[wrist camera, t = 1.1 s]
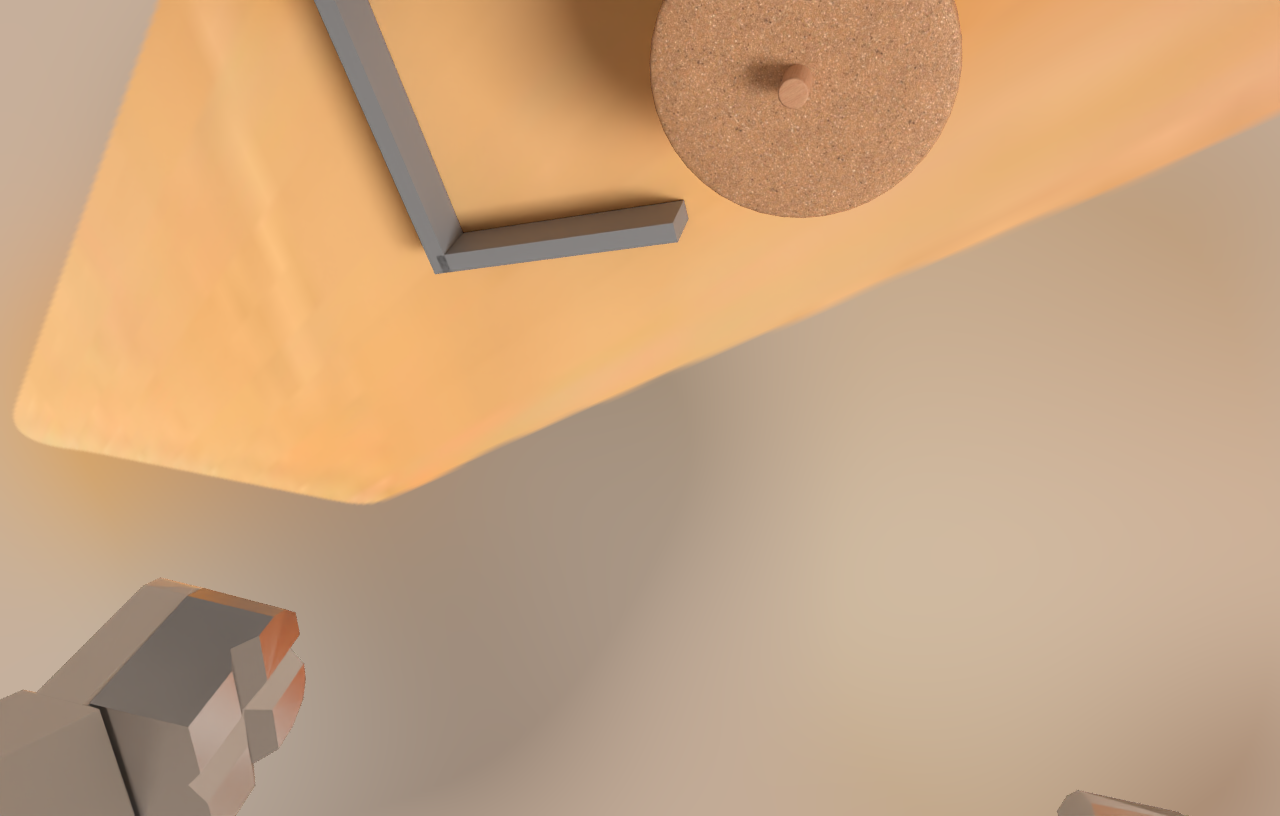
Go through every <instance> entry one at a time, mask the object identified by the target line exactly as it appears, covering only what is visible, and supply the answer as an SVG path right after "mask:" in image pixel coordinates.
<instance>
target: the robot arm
mask: <svg viewBox="0 0 1280 816" xmlns="http://www.w3.org/2000/svg"><path fill="white" fill-rule="evenodd" d="M299 635H300V632H299V627H298V622H297V617H296V613H295V612H292V611H289V610H286V609H282V608H278V607H275V606H271V605H267V604H263V603H259V602H255V601H251V600H248V599H244V598H240V597H236V596H232V595H228V594H224V593H221V592H217V591H213V590H209V589H205V588H201V587H197V586H192V585H188V584H184V583H180V582H176V581H172V580H168V579H164V578H159V579H157V580H155V581H152V582H150V583H148V584H146V585H144V586H143V587H141V588H140V589H139V590H138V591H137V592H136V593H135V594H134V595H133V596H132V597H131V599H129V600H128V601H127V602H126V603H125V604H124V605H123V606H122V608H120V609H119V610H118V611H117V612H116V613H115V614H114V615H113V616H112V617H111V618H110V620H108V621H107V623H105V624H104V625H103V626H102V627H101V628H100V629H99V630H98V631H97V632H96V634H94V635H93V636H92V637H91V638H90V639H89V641H87V642H86V644H85V645H83V646H82V647H81V649H79V650H78V652H77V653H75V655H73V656H72V658H70V659H69V660H68V661H67V662H66V664H64V665H63V666H62V667H61V669H60V670H58V671H57V672H56V673H55V674H54V676H52V677H51V679H49V680H48V681H47V682H46V683H45V684H44V686H42V688H41V689H40V690H38V692H32V691H27V690H21V691H19V692H17V693H14V694H12V695H10V696H7V697H5V698H3V699H1V700H0V816H236V814H237V813H238V811H239V810H240V808H241V807H242V805H243V804H244V802H245V800H246V799H247V798H248V796H249V794H250V793H251V791H252V790H253V788H254V786H255V776H254V765H253V764H254V763H255V762H257V761H259V760H260V759H262V758H264V757H266V756H268V755H269V754H271V753H273V752H274V751H276V750H278V749H279V748H280V746H281V745H282V743H283V741H284V740H285V738H286V737H287V735H288V733H289V732H290V730H291V728H292V727H293V725H294V722H295V719H296V717H297V714H298V712H299V709H300V706H301V704H302V701H303V696H304V689H305V680H306V677H305V668H304V663H303V662H302V660H301V659H300V658H299V657H298V656H297V655H296V653H295V652H294V651H293V650H292V649H291V646H292V645H293V644H294V642H295V641H296V639H297V638H298V636H299ZM1057 813H1058V816H1189V815H1182V814H1181V813H1179V812H1176V811H1172V810H1167V809H1163V808H1158V807H1153V806H1149V805H1144V804H1140V803H1135V802H1130V801H1126V800H1121V799H1116V798H1112V797H1107V796H1102V795H1098V794H1093V793H1089V792H1084V791H1079V790H1077V791H1075V792H1073V793H1071V794H1069V795H1067V796H1066V798H1065V799H1064V801H1063V802H1062V804H1061V806H1060V807H1059V809H1058V810H1057Z"/></svg>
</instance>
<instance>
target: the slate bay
mask: <svg viewBox="0 0 1280 816" xmlns="http://www.w3.org/2000/svg"><path fill="white" fill-rule="evenodd" d="M314 2H315V4H316V6H317V8H318V11H319V13H320V15H321V17H322V20H323V22H324V24H325V26H326V29H327V31H328V33H329V35H330V38H331V40H332V42H333V45H334V47H335V49H336V51H337V54H338V56H339V58H340V60H341V63H342V65H343V67H344V69H345V72H346V74H347V76H348V78H349V81H350V83H351V85H352V87H353V90H354V92H355V94H356V96H357V99H358V101H359V103H360V106H361V108H362V110H363V112H364V115H365V117H366V119H367V121H368V124H369V126H370V128H371V130H372V133H373V135H374V137H375V139H376V142H377V144H378V146H379V148H380V151H381V153H382V155H383V157H384V160H385V162H386V164H387V167H388V169H389V171H390V173H391V176H392V178H393V180H394V182H395V185H396V187H397V189H398V191H399V194H400V196H401V198H402V200H403V203H404V205H405V207H406V209H407V212H408V214H409V216H410V218H411V221H412V223H413V225H414V227H415V230H416V232H417V234H418V237H419V239H420V241H421V243H422V246H423V248H424V250H425V252H426V255H427V257H428V259H429V261H430V264H431V266H432V268H433V270H434V273H435V274H439V273H447V272H454V271H462V270H470V269H477V268H485V267H492V266H500V265H507V264H515V263H523V262H530V261H538V260H545V259H553V258H561V257H568V256H576V255H583V254H591V253H599V252H606V251H614V250H621V249H629V248H637V247H644V246H652V245H659V244H667V243H675V242H678V241H679V238H680V236H681V234H682V232H683V230H684V227H685V225H686V223H687V221H688V215H687V211H686V207H685V203H684V200H681V201H674V202H667V203H661V204H654V205H647V206H640V207H634V208H627V209H620V210H614V211H607V212H600V213H594V214H587V215H580V216H573V217H567V218H560V219H553V220H547V221H540V222H533V223H526V224H520V225H513V226H506V227H500V228H493V229H486V230H479V231H473V232H466V233H463V231H462V229H461V226H460V224H459V221H458V219H457V216H456V214H455V212H454V209H453V207H452V204H451V202H450V199H449V197H448V195H447V192H446V190H445V187H444V185H443V182H442V180H441V177H440V175H439V173H438V170H437V168H436V165H435V163H434V160H433V158H432V155H431V153H430V151H429V148H428V146H427V143H426V141H425V138H424V136H423V133H422V131H421V129H420V126H419V124H418V121H417V119H416V116H415V114H414V112H413V109H412V107H411V104H410V102H409V99H408V97H407V94H406V92H405V90H404V87H403V85H402V82H401V80H400V77H399V75H398V72H397V70H396V68H395V65H394V63H393V60H392V58H391V55H390V53H389V51H388V48H387V46H386V43H385V41H384V38H383V36H382V33H381V31H380V29H379V26H378V24H377V21H376V19H375V16H374V14H373V11H372V9H371V7H370V4H369V2H368V0H314Z"/></svg>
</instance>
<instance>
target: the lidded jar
mask: <svg viewBox="0 0 1280 816" xmlns="http://www.w3.org/2000/svg"><path fill="white" fill-rule="evenodd" d="M961 68H962V34H961V29H960V23H959V17H958V11H957V7H956V4H955V1H954V0H664V1H663V3H662V6H661V8H660V10H659V13H658V16H657V20H656V24H655V28H654V32H653V36H652V43H651V54H650V77H651V89H652V93H653V98H654V103H655V108H656V111H657V114H658V116H659V119H660V122H661V125H662V127H663V130H664V132H665V134H666V136H667V137H668V139H669V141H670V143H671V145H672V147H673V148H674V150H675V152H676V153H677V154H678V155H679V157H680V158H681V159H682V161H683V162H684V163H685V165H686V166H687V167H688V168H689V169H690V170H691V171H692V172H693V173H694V174H695V175H696V176H697V177H698V178H699V179H700V180H701V181H702V182H703V183H704V184H706V185H707V186H708V187H710V188H711V189H712V190H714V191H715V192H717V193H718V194H719V195H721V196H723V197H725V198H726V199H728V200H730V201H732V202H734V203H736V204H738V205H740V206H743V207H746V208H748V209H751V210H754V211H757V212H760V213H765V214H770V215H775V216H780V217H798V218H806V217H817V216H826V215H830V214H834V213H838V212H843V211H847V210H850V209H852V208H855V207H857V206H860V205H862V204H864V203H867V202H869V201H871V200H873V199H874V198H876V197H878V196H880V195H881V194H883V193H885V192H887V191H888V190H890V189H891V188H892V187H894V186H895V185H896V184H897V183H899V182H900V181H901V180H903V179H904V178H905V177H906V176H908V175H909V174H910V173H911V171H912V170H913V169H914V168H915V167H916V166H917V165H918V164H919V163H920V162H921V161H922V160H923V159H924V158H925V156H926V155H927V154H928V152H929V151H930V149H931V148H932V146H933V145H934V144H935V142H936V141H937V139H938V138H939V136H940V134H941V132H942V130H943V128H944V126H945V124H946V122H947V120H948V118H949V116H950V114H951V111H952V108H953V104H954V101H955V98H956V95H957V92H958V87H959V81H960V75H961Z"/></svg>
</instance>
